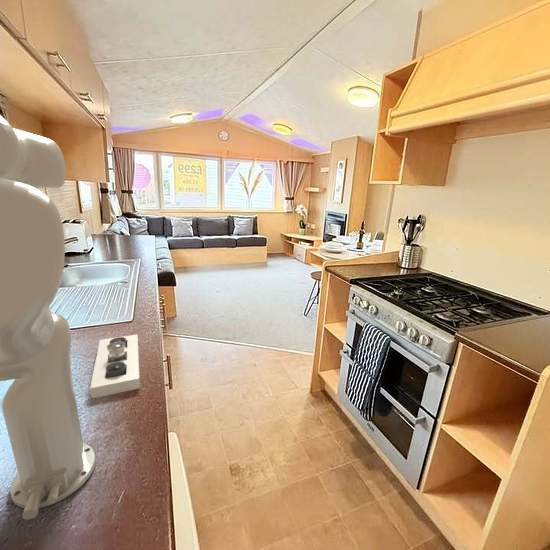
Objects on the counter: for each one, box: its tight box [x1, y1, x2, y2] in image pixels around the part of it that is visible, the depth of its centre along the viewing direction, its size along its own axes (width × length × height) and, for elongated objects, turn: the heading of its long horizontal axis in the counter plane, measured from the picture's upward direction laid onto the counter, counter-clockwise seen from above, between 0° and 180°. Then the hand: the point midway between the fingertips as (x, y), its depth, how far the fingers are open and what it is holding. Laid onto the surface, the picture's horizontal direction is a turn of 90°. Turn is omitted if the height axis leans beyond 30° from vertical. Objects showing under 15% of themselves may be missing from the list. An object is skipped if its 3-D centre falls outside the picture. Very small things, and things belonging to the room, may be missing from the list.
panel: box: [89, 334, 141, 399], centre depth 88 cm, size 26×11×3 cm, turn 24°
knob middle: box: [107, 342, 125, 362], centre depth 87 cm, size 5×5×4 cm
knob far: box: [110, 336, 126, 348], centre depth 95 cm, size 5×5×4 cm
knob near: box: [106, 362, 126, 378], centre depth 81 cm, size 5×5×4 cm
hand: (35, 298), depth 65 cm, fingers closed
